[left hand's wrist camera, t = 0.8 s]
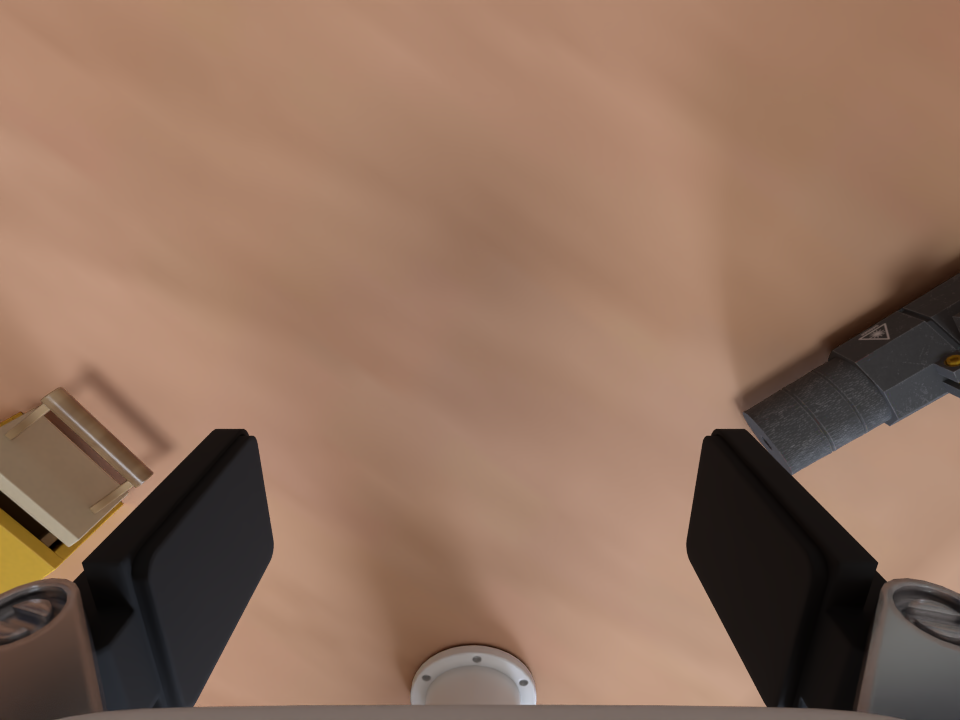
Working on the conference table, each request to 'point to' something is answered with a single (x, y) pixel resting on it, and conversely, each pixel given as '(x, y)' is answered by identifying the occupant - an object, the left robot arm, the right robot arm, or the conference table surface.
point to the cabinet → (31, 549)
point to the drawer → (62, 471)
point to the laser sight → (866, 382)
